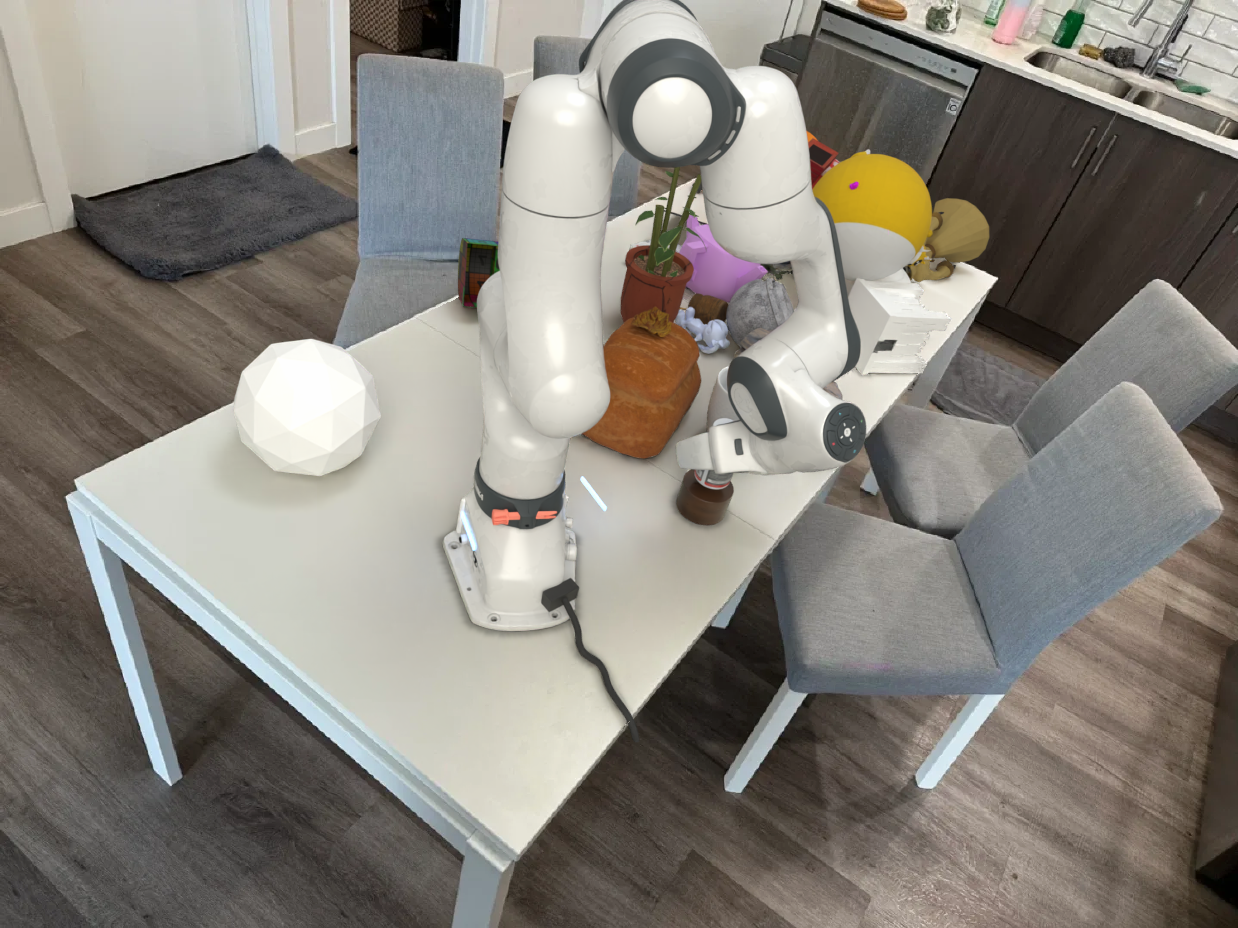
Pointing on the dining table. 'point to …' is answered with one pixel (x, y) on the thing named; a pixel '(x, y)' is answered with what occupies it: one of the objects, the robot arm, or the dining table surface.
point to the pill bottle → (709, 476)
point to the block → (475, 268)
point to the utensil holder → (707, 308)
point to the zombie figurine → (779, 274)
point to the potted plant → (659, 262)
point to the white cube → (892, 325)
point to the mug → (720, 401)
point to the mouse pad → (681, 215)
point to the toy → (877, 214)
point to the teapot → (715, 265)
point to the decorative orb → (757, 308)
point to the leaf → (653, 321)
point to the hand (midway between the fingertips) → (718, 449)
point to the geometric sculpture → (306, 407)
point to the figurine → (952, 239)
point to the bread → (646, 388)
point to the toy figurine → (704, 331)
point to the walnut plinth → (702, 501)
